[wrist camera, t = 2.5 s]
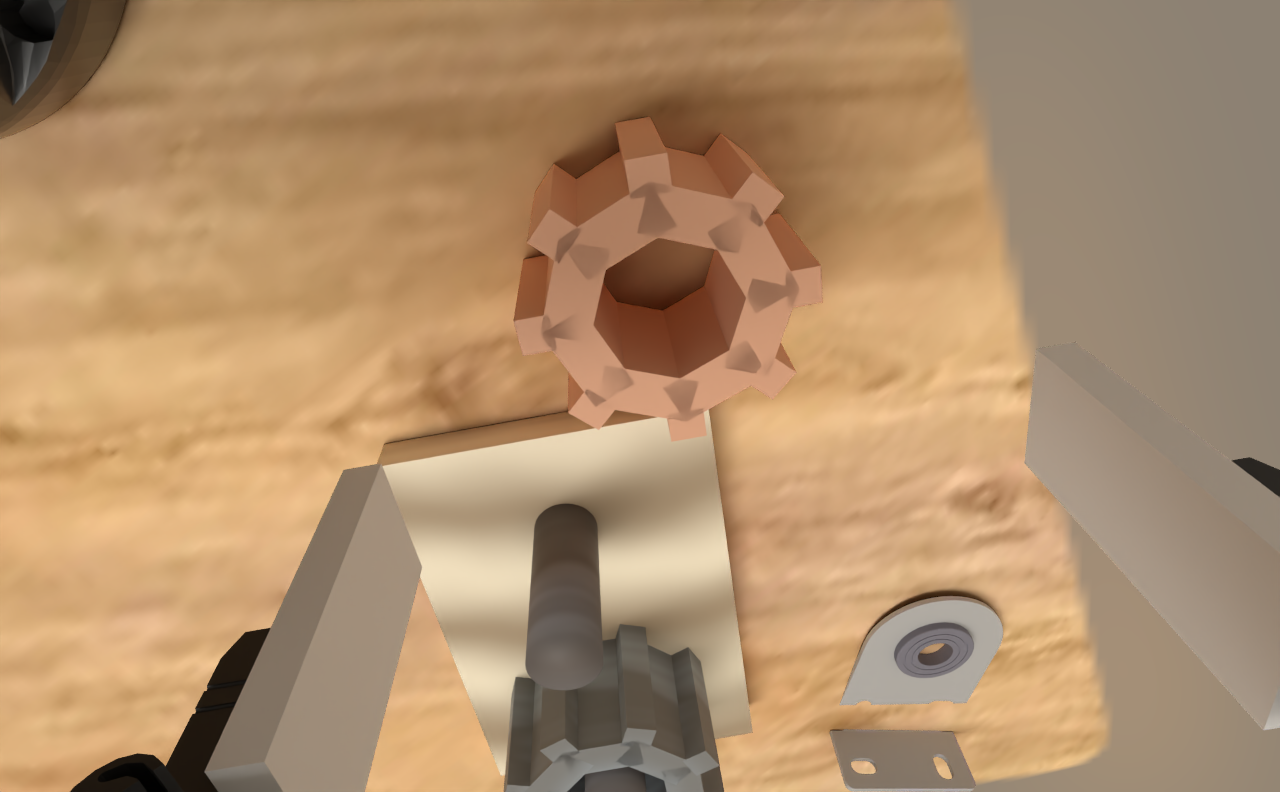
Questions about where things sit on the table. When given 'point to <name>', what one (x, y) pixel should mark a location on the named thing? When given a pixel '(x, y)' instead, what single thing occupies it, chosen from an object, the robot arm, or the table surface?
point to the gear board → (632, 546)
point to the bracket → (917, 691)
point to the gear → (689, 329)
